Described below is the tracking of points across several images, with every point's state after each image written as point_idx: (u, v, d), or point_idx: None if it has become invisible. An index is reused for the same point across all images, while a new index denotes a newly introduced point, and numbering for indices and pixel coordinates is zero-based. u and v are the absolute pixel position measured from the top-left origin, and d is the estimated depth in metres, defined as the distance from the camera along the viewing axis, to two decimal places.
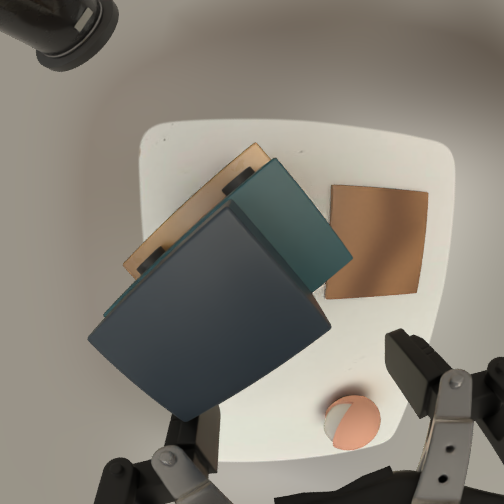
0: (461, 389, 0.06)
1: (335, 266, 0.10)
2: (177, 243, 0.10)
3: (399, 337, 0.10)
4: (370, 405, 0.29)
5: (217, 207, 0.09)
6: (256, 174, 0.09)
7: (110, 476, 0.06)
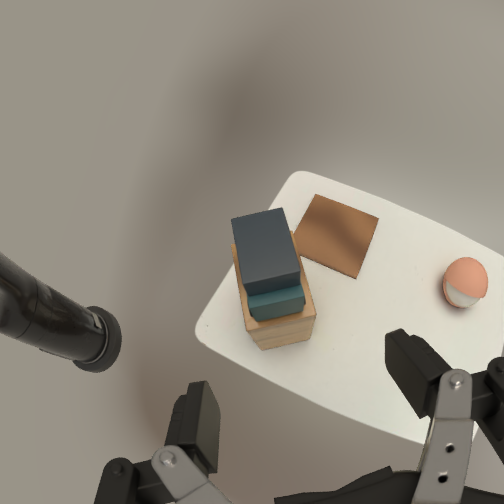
0: (461, 389, 0.06)
1: None
2: None
3: (399, 337, 0.10)
4: (451, 264, 0.35)
5: None
6: None
7: (110, 476, 0.06)
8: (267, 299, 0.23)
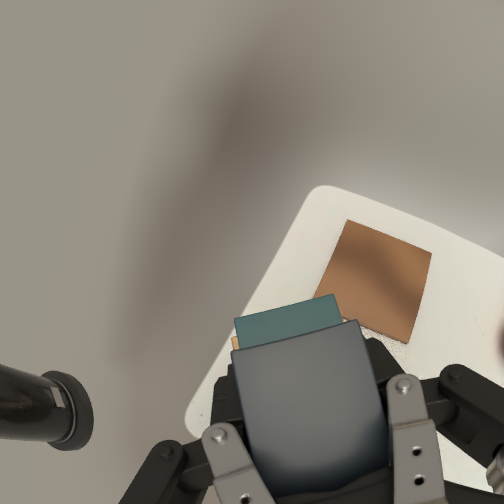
0: (407, 394, 0.07)
1: (333, 309, 0.12)
2: None
3: None
4: None
5: None
6: (238, 336, 0.12)
7: (156, 458, 0.07)
8: None
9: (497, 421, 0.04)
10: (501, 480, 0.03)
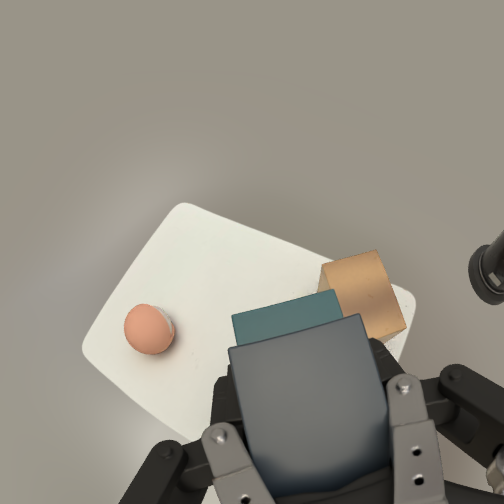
0: (407, 394, 0.07)
1: (333, 304, 0.12)
2: None
3: None
4: (158, 349, 0.38)
5: None
6: (235, 333, 0.12)
7: (156, 458, 0.07)
8: None
9: (497, 421, 0.04)
10: (501, 480, 0.03)
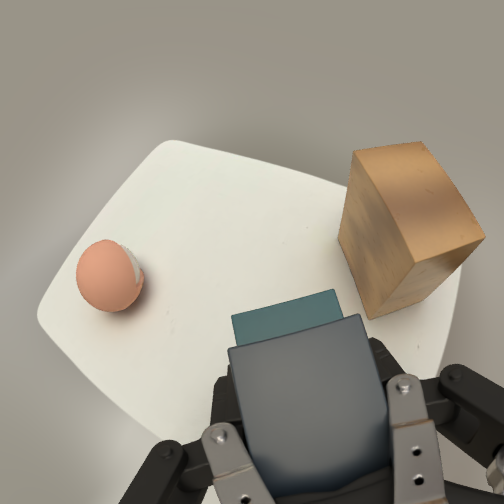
0: (407, 394, 0.07)
1: (333, 305, 0.12)
2: None
3: None
4: (118, 301, 0.26)
5: None
6: (235, 333, 0.12)
7: (156, 458, 0.07)
8: None
9: (497, 421, 0.04)
10: (501, 480, 0.03)
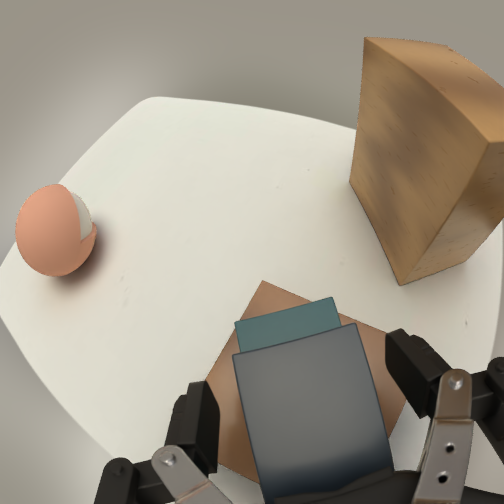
0: (461, 389, 0.06)
1: (332, 312, 0.12)
2: None
3: (399, 337, 0.10)
4: (57, 258, 0.18)
5: None
6: (238, 339, 0.12)
7: (110, 476, 0.06)
8: None
9: None
10: None
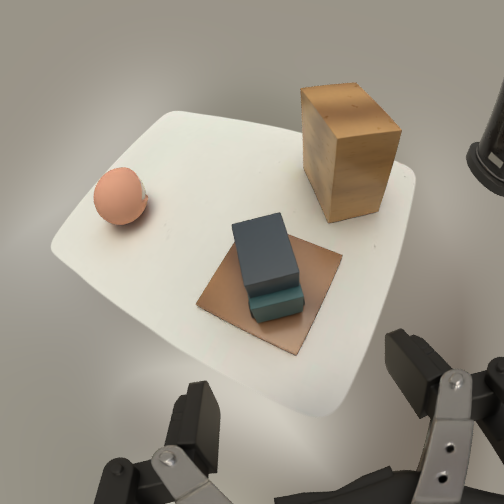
0: (461, 389, 0.06)
1: None
2: None
3: (399, 337, 0.10)
4: (126, 210, 0.34)
5: None
6: None
7: (110, 476, 0.06)
8: (268, 300, 0.24)
9: None
10: None
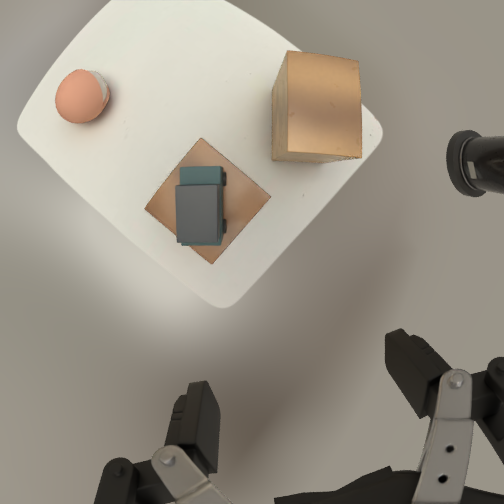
0: (461, 389, 0.06)
1: (218, 172, 0.30)
2: None
3: (399, 337, 0.10)
4: (87, 117, 0.29)
5: None
6: (180, 174, 0.30)
7: (110, 476, 0.06)
8: (195, 241, 0.32)
9: None
10: None
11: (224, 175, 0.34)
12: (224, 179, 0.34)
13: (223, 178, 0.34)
